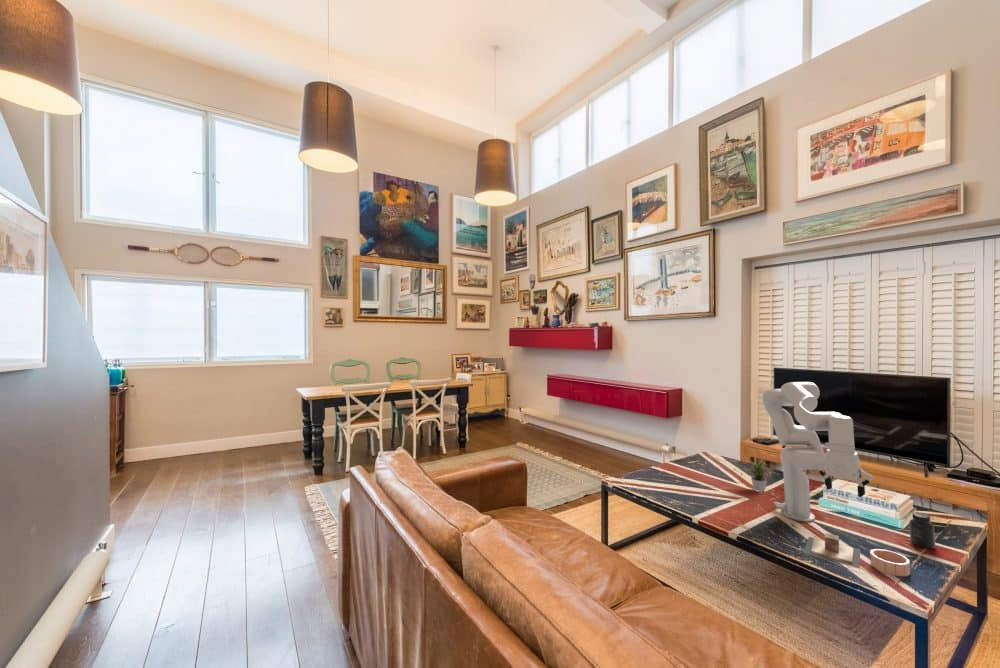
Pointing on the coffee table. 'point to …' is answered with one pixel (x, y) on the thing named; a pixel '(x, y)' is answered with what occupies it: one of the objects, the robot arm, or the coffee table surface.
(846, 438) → the robot arm
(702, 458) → the coffee table surface
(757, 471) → the house plant
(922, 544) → the supplement bottle
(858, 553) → the mat
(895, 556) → the bowl
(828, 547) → the lid
